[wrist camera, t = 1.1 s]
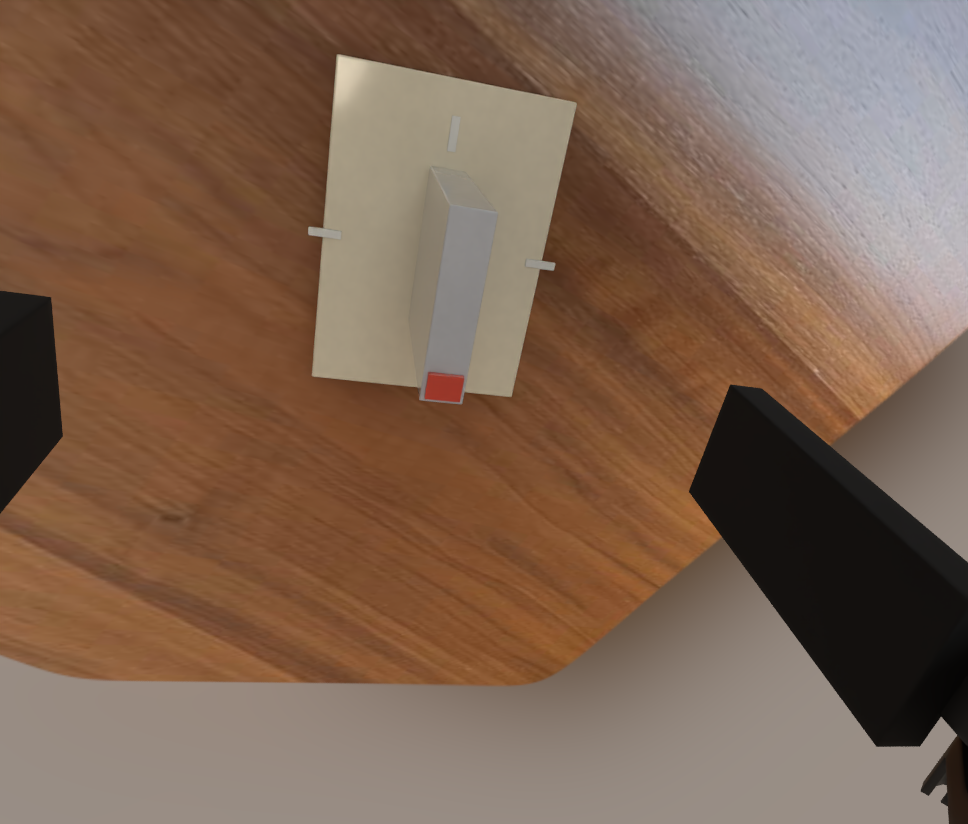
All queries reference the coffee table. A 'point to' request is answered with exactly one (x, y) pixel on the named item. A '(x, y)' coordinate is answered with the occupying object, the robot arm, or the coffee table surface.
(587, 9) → the coffee table surface
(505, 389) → the base
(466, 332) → the grey flat rectangular block
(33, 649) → the coffee table surface
